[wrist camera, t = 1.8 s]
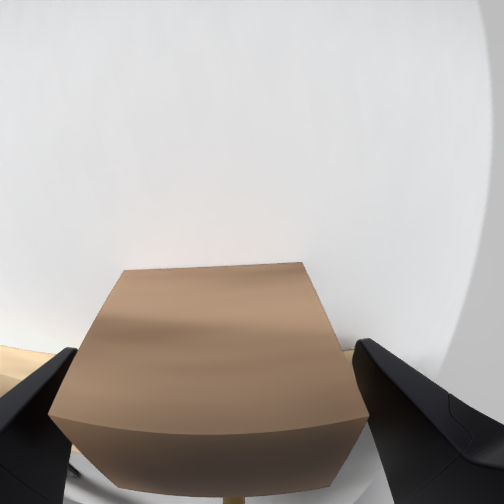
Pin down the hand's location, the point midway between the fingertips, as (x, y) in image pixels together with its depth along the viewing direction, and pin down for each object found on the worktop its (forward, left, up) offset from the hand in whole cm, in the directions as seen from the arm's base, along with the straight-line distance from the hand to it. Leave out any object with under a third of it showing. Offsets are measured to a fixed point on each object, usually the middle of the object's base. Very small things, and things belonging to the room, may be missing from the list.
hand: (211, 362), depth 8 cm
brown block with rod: (-3, 0, -2) cm, 4 cm away
